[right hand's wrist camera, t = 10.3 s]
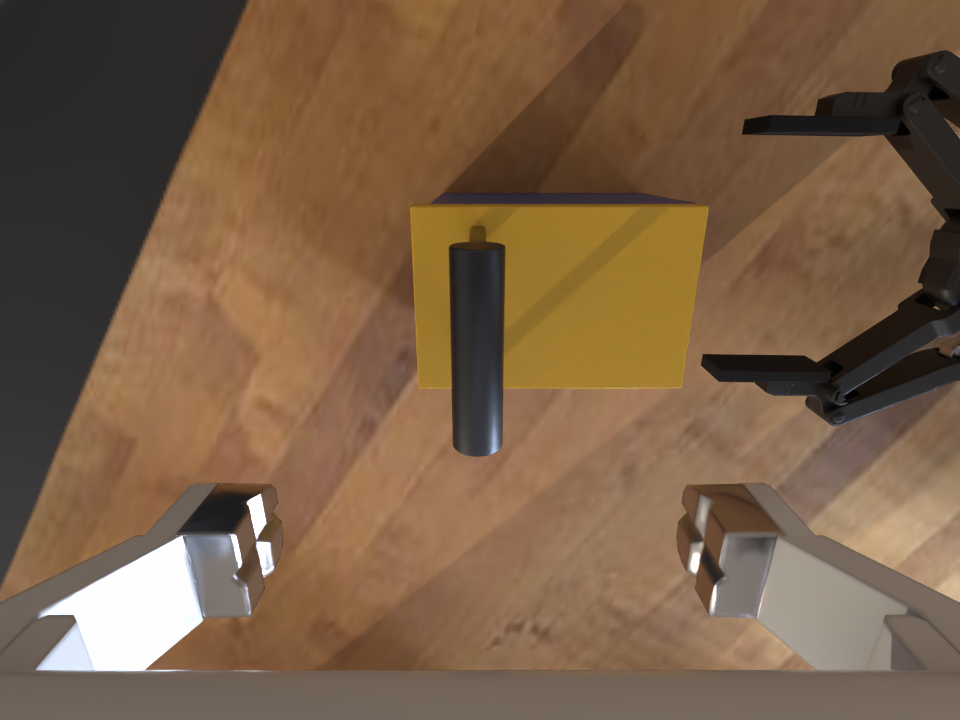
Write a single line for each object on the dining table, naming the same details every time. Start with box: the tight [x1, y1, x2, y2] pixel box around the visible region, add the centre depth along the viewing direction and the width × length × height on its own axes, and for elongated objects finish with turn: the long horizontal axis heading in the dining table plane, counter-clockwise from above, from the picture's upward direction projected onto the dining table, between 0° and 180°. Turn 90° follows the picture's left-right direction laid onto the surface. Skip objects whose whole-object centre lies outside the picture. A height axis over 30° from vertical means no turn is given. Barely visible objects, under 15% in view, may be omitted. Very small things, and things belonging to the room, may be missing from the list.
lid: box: [410, 204, 709, 457], centre depth 23 cm, size 14×9×9 cm, turn 90°
